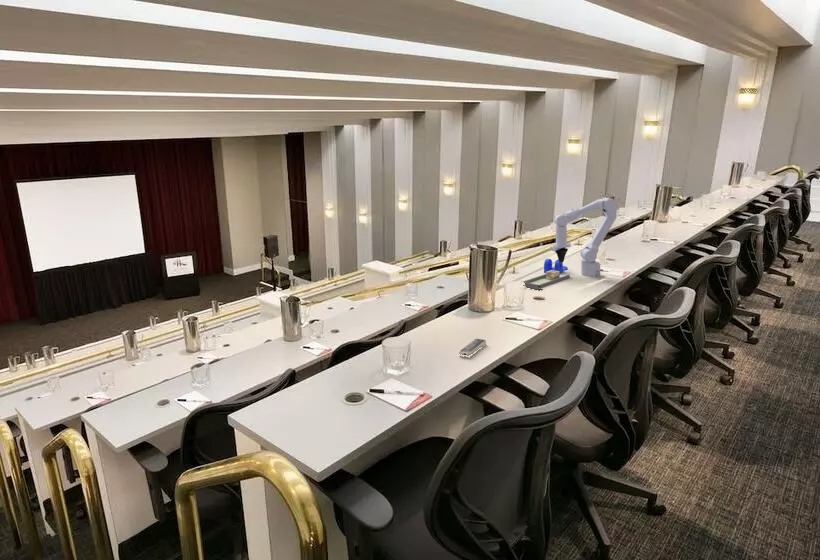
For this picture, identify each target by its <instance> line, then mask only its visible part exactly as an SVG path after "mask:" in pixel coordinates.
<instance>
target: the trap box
mask: <svg viewBox="0 0 820 560" xmlns="http://www.w3.org/2000/svg"><path fill="white" fill-rule="evenodd" d="M570 276H571V275H570V274H566V275H564V276H561V277H560V278H557V279H554V280H549V279H546V273H544V274H542V275H539V276H535V277H532V278H530V279H526V280H524V281H522V282H524V283H525V285H526V287H527V288H530V289H529V290H532V289H534V290H533V291H537V290H538V292H540V290H541V291H543V288H544V287H547V286H550V285H552V284H556V283H558V282H561V281H563V280H567V279H569V278H571V277H570ZM525 285H524V286H525Z"/></svg>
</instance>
